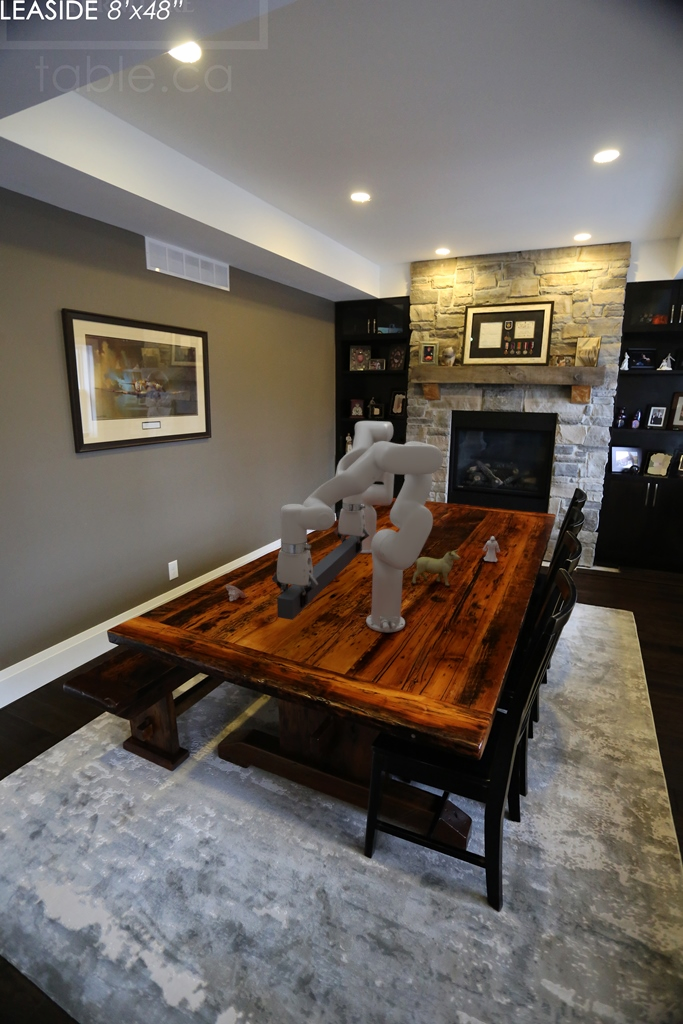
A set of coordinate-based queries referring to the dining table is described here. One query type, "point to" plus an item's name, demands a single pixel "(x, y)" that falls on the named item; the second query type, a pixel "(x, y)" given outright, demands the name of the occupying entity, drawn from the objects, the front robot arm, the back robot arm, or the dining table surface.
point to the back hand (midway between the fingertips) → (351, 550)
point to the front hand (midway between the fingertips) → (295, 603)
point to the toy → (435, 566)
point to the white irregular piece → (234, 592)
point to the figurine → (491, 550)
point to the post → (318, 578)
